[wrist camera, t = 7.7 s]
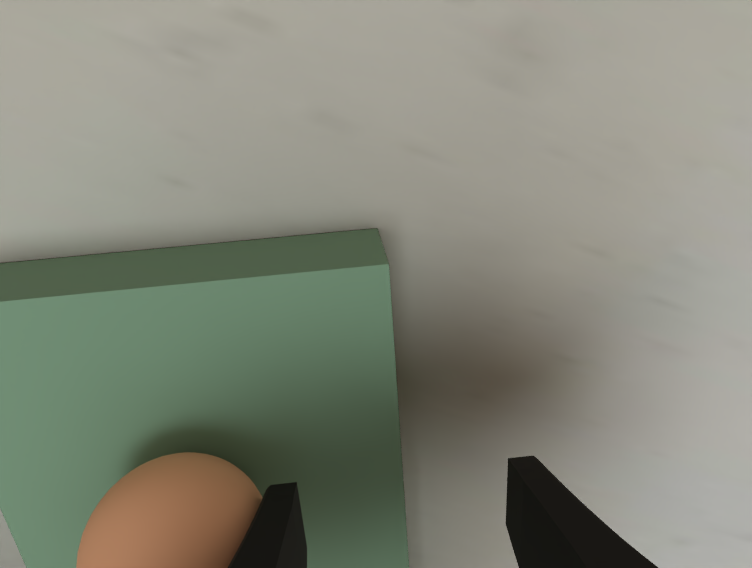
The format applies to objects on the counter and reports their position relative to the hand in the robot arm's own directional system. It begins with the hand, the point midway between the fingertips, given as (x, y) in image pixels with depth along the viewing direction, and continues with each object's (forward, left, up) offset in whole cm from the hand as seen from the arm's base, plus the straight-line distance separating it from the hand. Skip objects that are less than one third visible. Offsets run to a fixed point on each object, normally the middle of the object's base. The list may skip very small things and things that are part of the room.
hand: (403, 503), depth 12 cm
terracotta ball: (0, +5, 0) cm, 5 cm away
